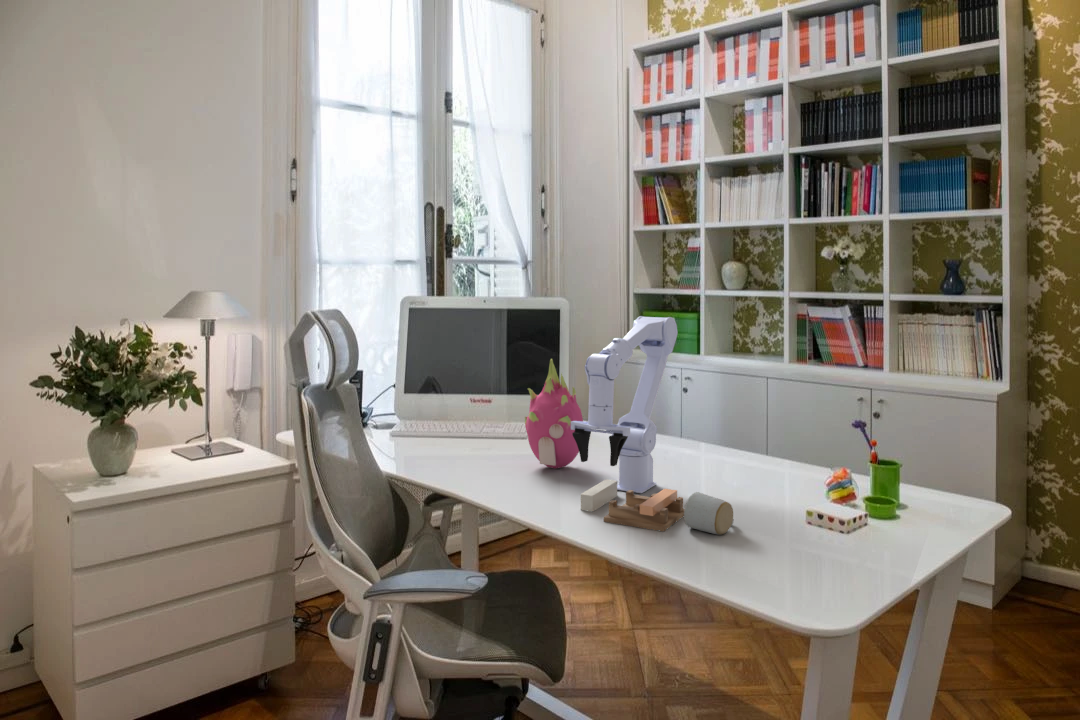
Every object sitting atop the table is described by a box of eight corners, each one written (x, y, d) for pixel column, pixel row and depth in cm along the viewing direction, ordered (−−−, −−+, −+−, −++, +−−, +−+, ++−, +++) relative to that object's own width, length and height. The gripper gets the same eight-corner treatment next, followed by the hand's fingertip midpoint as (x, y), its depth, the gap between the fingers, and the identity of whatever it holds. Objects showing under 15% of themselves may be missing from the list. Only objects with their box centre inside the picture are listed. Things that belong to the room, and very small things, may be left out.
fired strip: (664, 497, 184) (664, 488, 184) (677, 498, 183) (677, 490, 183) (639, 513, 172) (639, 504, 172) (652, 516, 171) (652, 506, 171)
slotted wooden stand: (630, 504, 189) (630, 487, 189) (687, 513, 182) (687, 496, 181) (603, 521, 177) (603, 503, 177) (663, 531, 170) (663, 513, 170)
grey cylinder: (717, 540, 165) (718, 503, 164) (682, 531, 170) (683, 495, 169) (742, 528, 172) (743, 492, 172) (709, 520, 178) (709, 485, 177)
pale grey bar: (605, 495, 198) (605, 479, 197) (617, 496, 196) (617, 480, 196) (580, 511, 186) (580, 494, 185) (592, 512, 184) (592, 495, 184)
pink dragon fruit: (516, 471, 220) (514, 361, 216) (532, 460, 232) (531, 356, 229) (579, 476, 214) (579, 363, 210) (593, 464, 227) (592, 357, 223)
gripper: (565, 404, 189) (563, 462, 190) (622, 409, 181) (619, 470, 182) (579, 401, 195) (577, 457, 196) (635, 407, 187) (632, 465, 188)
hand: (598, 463), depth 189 cm, fingers open, 7 cm apart
